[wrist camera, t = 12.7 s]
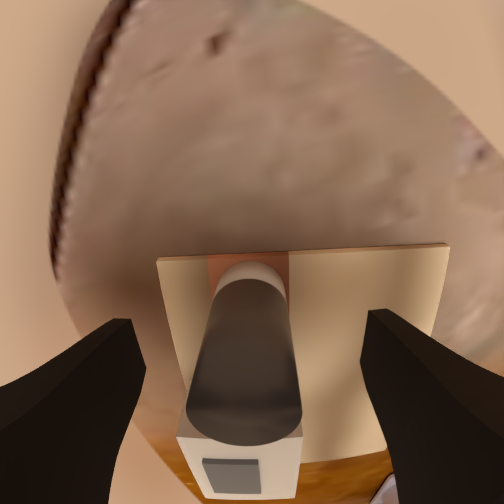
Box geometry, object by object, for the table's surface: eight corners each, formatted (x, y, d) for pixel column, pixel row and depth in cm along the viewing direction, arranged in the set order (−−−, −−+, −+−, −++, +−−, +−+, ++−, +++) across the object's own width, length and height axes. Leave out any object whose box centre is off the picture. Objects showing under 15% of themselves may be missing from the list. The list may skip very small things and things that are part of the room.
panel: (445, 243, 11) (450, 246, 11) (383, 446, 17) (384, 450, 16) (158, 257, 12) (155, 261, 11) (211, 460, 17) (210, 464, 17)
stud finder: (295, 377, 13) (303, 442, 10) (291, 451, 16) (295, 502, 12) (189, 379, 14) (174, 442, 10) (211, 452, 16) (204, 502, 12)
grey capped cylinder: (277, 254, 11) (294, 367, 6) (289, 314, 12) (307, 438, 6) (208, 268, 11) (168, 383, 6) (226, 325, 12) (207, 448, 7)
